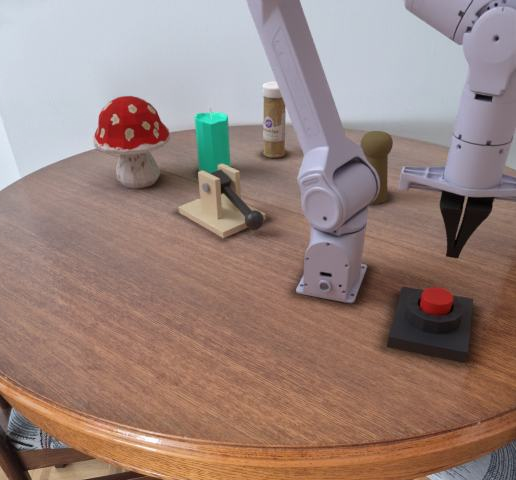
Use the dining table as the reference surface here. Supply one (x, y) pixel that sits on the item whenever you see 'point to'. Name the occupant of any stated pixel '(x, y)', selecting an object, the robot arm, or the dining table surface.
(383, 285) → the dining table surface
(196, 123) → the candle
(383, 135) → the cork
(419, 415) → the dining table surface
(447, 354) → the control block
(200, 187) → the lever
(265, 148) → the sprinkles bottle
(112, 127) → the decorative mushroom
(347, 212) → the robot arm
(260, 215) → the lever
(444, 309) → the button
